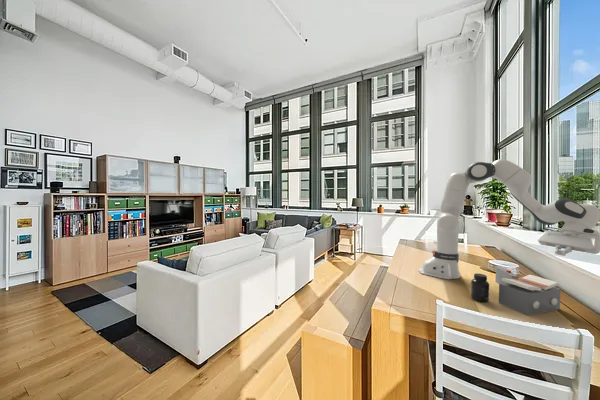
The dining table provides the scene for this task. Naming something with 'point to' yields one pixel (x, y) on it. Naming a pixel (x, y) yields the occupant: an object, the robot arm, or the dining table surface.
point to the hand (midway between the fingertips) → (559, 254)
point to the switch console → (529, 299)
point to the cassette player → (504, 274)
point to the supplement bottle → (480, 288)
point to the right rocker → (539, 281)
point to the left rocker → (522, 284)
